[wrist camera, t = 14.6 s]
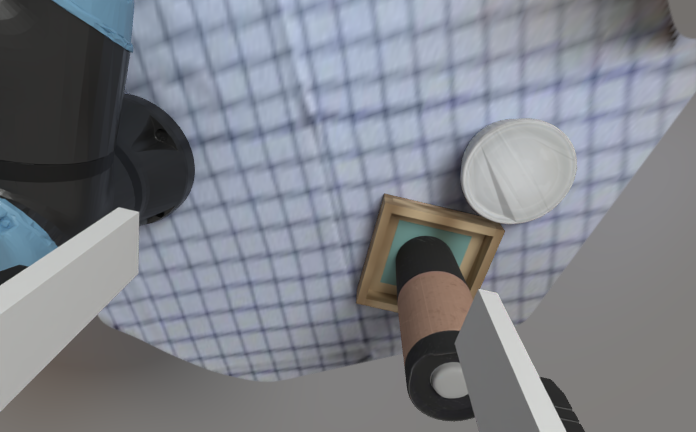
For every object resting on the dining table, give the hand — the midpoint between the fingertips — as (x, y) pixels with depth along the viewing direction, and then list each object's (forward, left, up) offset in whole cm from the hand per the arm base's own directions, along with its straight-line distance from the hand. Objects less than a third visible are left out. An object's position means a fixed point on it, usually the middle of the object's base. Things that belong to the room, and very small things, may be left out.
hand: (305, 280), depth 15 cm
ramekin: (+18, 0, -32) cm, 37 cm away
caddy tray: (+13, -14, -32) cm, 37 cm away
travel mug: (+13, -14, -31) cm, 36 cm away
